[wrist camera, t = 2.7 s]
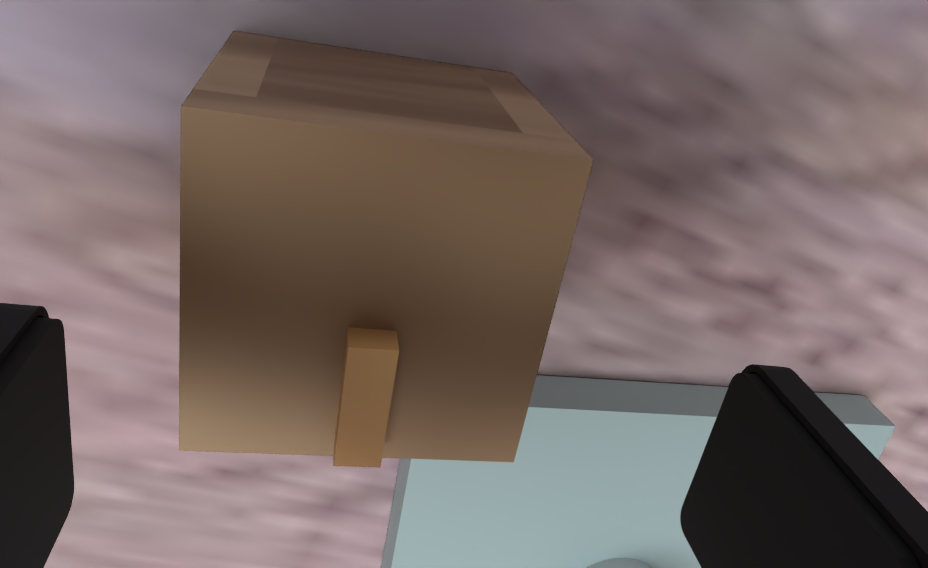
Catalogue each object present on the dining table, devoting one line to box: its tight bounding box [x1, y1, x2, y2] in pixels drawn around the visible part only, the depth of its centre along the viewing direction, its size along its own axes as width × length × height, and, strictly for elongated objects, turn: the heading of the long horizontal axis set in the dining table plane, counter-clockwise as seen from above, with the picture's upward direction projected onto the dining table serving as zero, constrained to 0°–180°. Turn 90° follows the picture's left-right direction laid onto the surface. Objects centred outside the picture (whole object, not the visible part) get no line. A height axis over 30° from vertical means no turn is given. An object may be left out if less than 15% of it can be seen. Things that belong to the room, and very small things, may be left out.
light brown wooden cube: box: [179, 31, 593, 467], centre depth 14 cm, size 6×6×7 cm
